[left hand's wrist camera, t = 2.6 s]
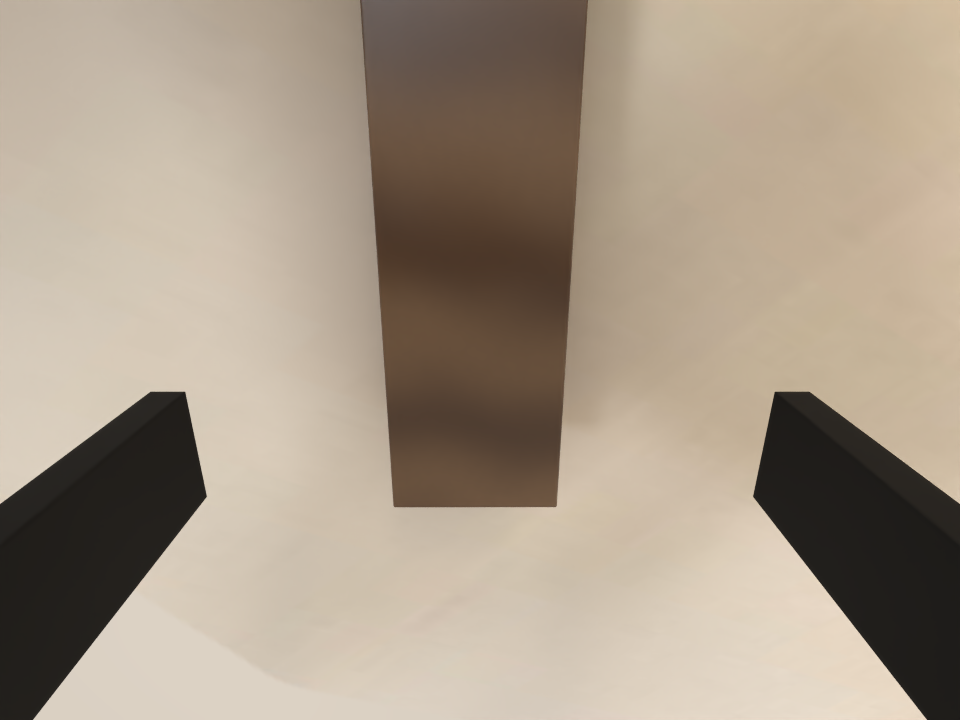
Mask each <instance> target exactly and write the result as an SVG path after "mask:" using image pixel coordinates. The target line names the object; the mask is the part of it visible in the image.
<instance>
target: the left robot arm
mask: <svg viewBox="0 0 960 720" xmlns="http://www.w3.org/2000/svg"><path fill="white" fill-rule="evenodd" d="M206 497H207V495H206V490H205V486H204V481H203V476H202V471H201V466H200V461H199V457H198V452H197V447H196V442H195V437H194V432H193V428H192V423H191V418H190V413H189V408H188V403H187V398H186V394H185V392H150V393H148V394H147V395H146V396H144V397H143V398H142V399H140V400H139V401H138V402H136V403H135V404H134V405H132V406H131V407H130V408H128V409H127V410H126V411H124V412H123V413H122V414H120V415H119V416H118V417H116V418H115V419H114V420H112V421H111V422H110V423H108V424H107V425H106V426H104V427H103V428H102V429H100V430H99V431H98V432H96V433H95V434H93V435H92V436H91V437H89V438H88V439H87V440H85V441H84V442H83V443H81V444H80V445H79V446H77V447H76V448H75V449H73V450H72V451H71V452H69V453H68V454H67V455H65V456H64V457H63V458H61V459H60V460H59V461H57V462H56V463H55V464H53V465H52V466H51V467H49V468H48V469H47V470H45V471H44V472H43V473H41V474H40V475H39V476H37V477H36V478H35V479H33V480H32V481H30V482H29V483H28V484H26V485H25V486H24V487H22V488H21V489H20V490H18V491H17V492H16V493H14V494H13V495H12V496H10V497H9V498H8V499H6V500H5V501H4V502H2V503H1V504H0V720H33V719H34V718H35V716H36V715H37V714H38V713H39V711H40V710H41V709H42V707H43V706H44V705H45V704H46V702H47V701H48V700H49V698H50V697H51V696H52V695H53V693H54V692H55V691H56V689H57V688H58V687H59V686H60V684H61V683H62V682H63V681H64V679H65V678H66V677H67V675H68V674H69V673H70V672H71V670H72V669H73V668H74V666H75V665H76V664H77V663H78V661H79V660H80V659H81V657H82V656H83V655H84V653H85V652H86V651H87V650H88V648H89V647H90V646H91V645H92V643H93V642H94V641H95V639H96V638H97V637H98V636H99V634H100V633H101V632H102V630H103V629H104V628H105V627H106V625H107V624H108V623H109V621H110V620H111V619H112V618H113V616H114V615H115V614H116V613H117V611H118V610H119V609H120V607H121V606H122V605H123V604H124V602H125V601H126V600H127V598H128V597H129V596H130V595H131V593H132V592H133V591H134V589H135V588H136V587H137V586H138V584H139V583H140V582H141V580H142V579H143V578H144V577H145V575H146V574H147V573H148V571H149V570H150V569H151V568H152V566H153V565H154V564H155V562H156V561H157V560H158V559H159V557H160V556H161V555H162V553H163V552H164V551H165V550H166V548H167V547H168V546H169V545H170V543H171V542H172V541H173V539H174V538H175V537H176V536H177V534H178V533H179V532H180V530H181V529H182V528H183V527H184V525H185V524H186V523H187V521H188V520H189V519H190V518H191V516H192V515H193V514H194V512H195V511H196V510H197V509H198V507H199V506H200V505H201V503H202V502H203V501H204V500H205V498H206ZM753 497H754V498H755V500H756V501H757V502H758V503H759V505H760V506H761V507H762V509H763V510H764V511H765V512H766V514H767V515H768V516H769V518H770V519H771V520H772V521H773V523H774V524H775V525H776V527H777V528H778V529H779V530H780V532H781V533H782V534H783V536H784V537H785V538H786V539H787V541H788V542H789V543H790V545H791V546H792V547H793V548H794V550H795V551H796V552H797V553H798V555H799V556H800V557H801V559H802V560H803V561H804V562H805V564H806V565H807V566H808V568H809V569H810V570H811V571H812V573H813V574H814V575H815V577H816V578H817V579H818V580H819V582H820V583H821V584H822V586H823V587H824V588H825V589H826V591H827V592H828V593H829V595H830V596H831V597H832V598H833V600H834V601H835V602H836V604H837V605H838V606H839V607H840V609H841V610H842V611H843V613H844V614H845V615H846V616H847V618H848V619H849V620H850V621H851V623H852V624H853V625H854V627H855V628H856V629H857V630H858V632H859V633H860V634H861V636H862V637H863V638H864V639H865V641H866V642H867V643H868V645H869V646H870V647H871V648H872V650H873V651H874V652H875V654H876V655H877V656H878V657H879V659H880V660H881V661H882V663H883V664H884V665H885V666H886V668H887V669H888V670H889V672H890V673H891V674H892V675H893V677H894V678H895V679H896V681H897V682H898V683H899V684H900V686H901V687H902V688H903V689H904V691H905V692H906V693H907V695H908V696H909V697H910V698H911V700H912V701H913V702H914V704H915V705H916V706H917V707H918V709H919V710H920V711H921V713H922V714H923V715H924V716H925V718H926V719H927V720H960V504H959V503H958V502H956V501H955V500H954V499H952V498H951V497H950V496H948V495H947V494H946V493H944V492H943V491H942V490H940V489H939V488H938V487H936V486H935V485H934V484H932V483H931V482H930V481H928V480H927V479H925V478H924V477H923V476H921V475H920V474H919V473H917V472H916V471H915V470H913V469H912V468H911V467H909V466H908V465H907V464H905V463H904V462H903V461H901V460H900V459H899V458H897V457H896V456H895V455H893V454H892V453H891V452H889V451H888V450H887V449H885V448H884V447H883V446H881V445H880V444H879V443H877V442H876V441H875V440H873V439H872V438H871V437H869V436H868V435H867V434H865V433H864V432H862V431H861V430H860V429H858V428H857V427H856V426H854V425H853V424H852V423H850V422H849V421H848V420H846V419H845V418H844V417H842V416H841V415H840V414H838V413H837V412H836V411H834V410H833V409H832V408H830V407H829V406H828V405H826V404H825V403H824V402H822V401H821V400H820V399H818V398H817V397H816V396H814V395H813V394H812V393H810V392H775V394H774V398H773V403H772V408H771V413H770V418H769V423H768V427H767V432H766V437H765V442H764V447H763V452H762V457H761V461H760V466H759V471H758V476H757V481H756V486H755V490H754V495H753Z"/></svg>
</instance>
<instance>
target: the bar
mask: <svg viewBox="0 0 960 720" xmlns="http://www.w3.org/2000/svg"><path fill="white" fill-rule="evenodd" d="M360 3H361V19H362V34H363V49H364V64H365V79H366V94H367V110H368V125H369V140H370V155H371V170H372V185H373V201H374V216H375V231H376V246H377V261H378V276H379V292H380V307H381V322H382V337H383V352H384V367H385V383H386V398H387V413H388V428H389V443H390V458H391V474H392V489H393V504H394V507H556V506H557V492H558V476H559V460H560V444H561V428H562V411H563V395H564V379H565V363H566V347H567V330H568V314H569V298H570V282H571V266H572V249H573V233H574V217H575V201H576V184H577V168H578V152H579V136H580V120H581V103H582V87H583V71H584V55H585V39H586V22H587V6H588V0H360Z"/></svg>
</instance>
